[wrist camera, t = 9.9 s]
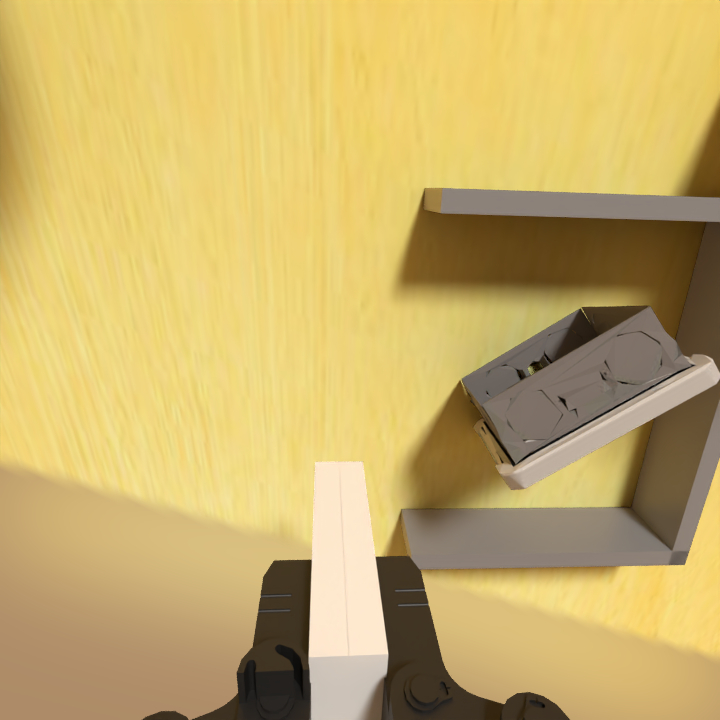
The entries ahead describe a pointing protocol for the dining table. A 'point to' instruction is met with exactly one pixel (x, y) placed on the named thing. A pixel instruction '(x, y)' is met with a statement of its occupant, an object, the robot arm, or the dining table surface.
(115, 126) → the dining table surface
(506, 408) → the electrical switch
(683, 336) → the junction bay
